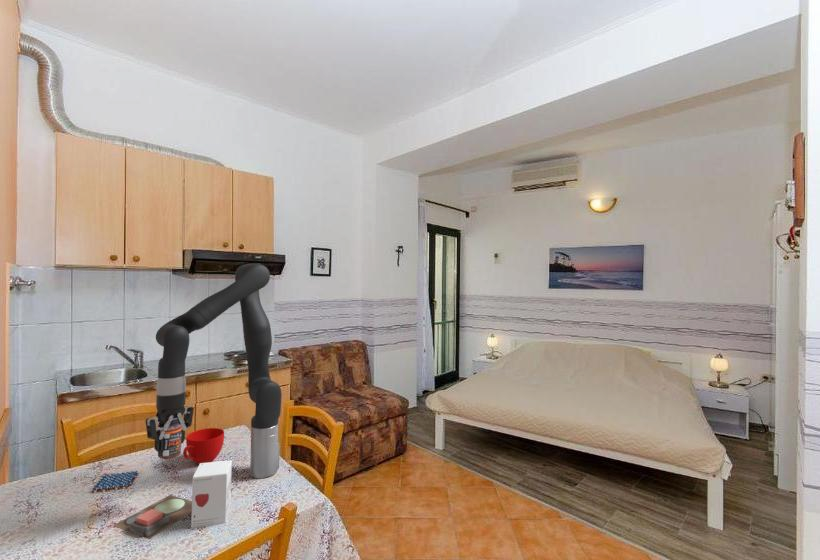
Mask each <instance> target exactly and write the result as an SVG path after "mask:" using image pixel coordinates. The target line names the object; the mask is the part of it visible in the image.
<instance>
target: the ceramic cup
mask: <svg viewBox="0 0 820 560" xmlns="http://www.w3.org/2000/svg"><path fill="white" fill-rule="evenodd" d="M224 441H225V430H224V429H222V428H217V427H210V428H209V427H208V428H201V429H197V430H195V431H192V432H190V433H188V434H187V435H186V436H185V444H186V447H184V448H183V451H182V455H183V457H184V458H185V459H187V460H192V461H194V462H195V464H198V465H199V464H200V463H208V462H214V461H213V460H214V459H215V460H216V458H217V457H218V456H219V455H220V452H221V450H223V445H224Z"/></svg>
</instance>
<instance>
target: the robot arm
mask: <svg viewBox="0 0 820 560" xmlns="http://www.w3.org/2000/svg"><path fill="white" fill-rule="evenodd" d="M234 275H235V276H234V280H235V281H234V282H233V283H230V284H229V285H228V286H226V287H224V288H223V289H220V290H219V291H217V292H215V293H213V294H211V295H209V296H208V297H206V298H204V299H202V300H201V301H200V302H198V303H197V304H195V305H194V306H193V307H191V308H190V309H188V310H187V311H186V312H184V313H183V314H181V315H178V316H176V317H175V318H172V319H170V320H169V321H167V322H166V323H164V324H163V325H162V326H161V327H160V328H159V329H158V330H157V331H156V334H155V341H156V343H157V344H159V345H160V346H161V347H163V350H162V357H161V358H160V359H159V360H158V365H157V382H156V398H155V400H156V403H155V404H156V405H155V406H156V407H155V408H156V415H155V416H154V417H151V418H150V417H149V418H146V419H145V427H146V428H145V429H146V436H147V439H150V440H154V444H153V445H154V451H156V452H157V453H158V452H162V451H163V439H162V438H163V436H164V434H165V431H167V430H168V427H169V425H170V422H171V421H172V419H173V418H178V422H179V423H180V424H181V425H182V438H181V445H183V444H184V442H185V441H186V430H187V429H188V428H190V427H192V424H193V417H194V411H195V410H194V409H195V408H194V407H193V406H187V405H186V399H187V398H186V394H187V393H186V392H187V391H186V390H187V383H186V382H187V381H186V380H187V379H186V359H187V355H188V351H189V347H190V334H191V333H193V332H195V331H199V330H202V329H203V328H205V327H206V326H208V325H209V324H210V323H212V322H213V321H214V320H216V318H218V317H220V316H221V315H222V314H223V313H224V312H226V311H227V310H229V309H231V308H232V307H233V306H234V305H235V304H237V303H239V305H240V313H241V322H242V332H243V341H244V346H245V347H244V349H245V353H246V354H245V355H246V361H247V369H248V370H247V371H248V372H247V373H248V375H247V377H248V386H247V387H248V391H247V392H248V396H249V398H250V400H251V402H253V403H254V404H255V411H254V413H255V414H254V415H253V416H252V417H251V420H250V463H249V470H250V471H249V475H250V477H252V478H255V479H266V478H269V477H272V476H274V475H275V474H276V473H277V472H278V470H279V469H280V442H279V419H280V417H281V412H282V411H281V410H282V388H281V386H280V384H279V383H277V382H276V381H273V380H272V379H271V375H270V368H269V359H270V354H271V350H272V344H273V337H272V330H271V329H272V328H271V323H270V321H269V318H268V316H267V314H266V312H265V310H264V308H263V305H262V303H261V298H260V290H261V289H262V288H265V287H266V286H267V285H268V283H270V279H271V278H270V277H271V273H270V271H269V269H268V268H267V267H266V266H265V265H263V264H261V263H246V264H243V265H240V266H238V268H236V270H235V273H234ZM185 405H186V406H185ZM162 426H164V427H163V428H161V427H162ZM160 430H161V432H160Z"/></svg>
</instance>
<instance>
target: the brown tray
mask: <svg viewBox="0 0 820 560" xmlns="http://www.w3.org/2000/svg"><path fill="white" fill-rule="evenodd" d="M151 509H154V510H157V511H160V512H163V518H161V519H160V520H158V521H156V522H155V523H153V524H151V525H149V526H148V527H146V526H143V525H140V524H138V523H136V518H137V517H138V516H140V515H142V514H144V513H146V512H148V511H149V510H151ZM191 514H192V500H189V499H186V498H183V497H179V496H177V495H176V496H175V495H172V494H170V495H167V496H166V497H164V498H161V499H159V500H158V501H156V502H154V503H152V504H151V505H149V506H147V507H145V508H143V509H141V510H139V511H138V512H136V513H134V514H132V515H129V516H128V517H126V518H125V519H123V520H121V521H119V522H117V523H114V524H113V525H112V526H113V527H115V528H117V529H121V530H124V531H125V532H129V533H132V534H134V535H137V536H140V537H142V538H145V539H148V540H150V539H152V537H154V536H157V535H158V534H160V533H161V532H163V531H164V530H166V529H168V528H169V527H171V526H173V524H176V523H177V522H179V521H180V520H182V519H183V518H185V517H187V516H189V515H191Z"/></svg>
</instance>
